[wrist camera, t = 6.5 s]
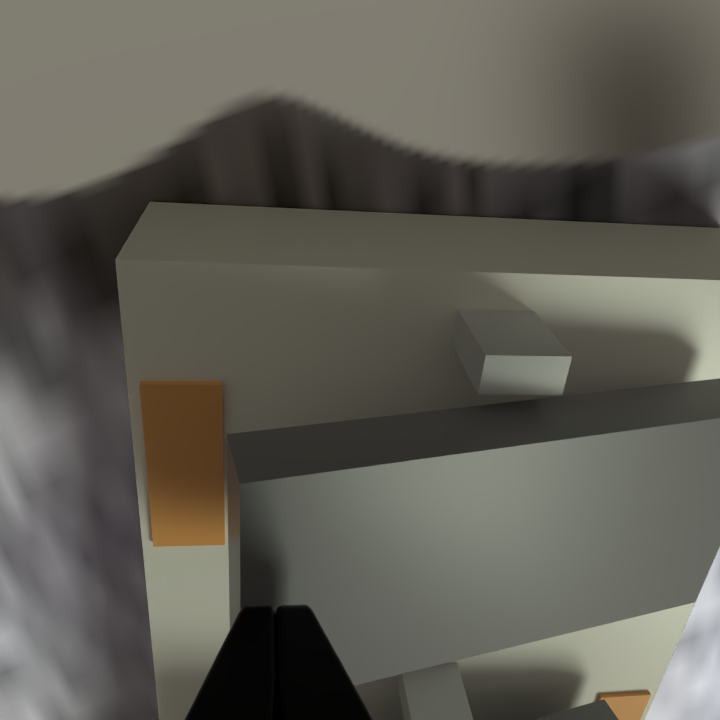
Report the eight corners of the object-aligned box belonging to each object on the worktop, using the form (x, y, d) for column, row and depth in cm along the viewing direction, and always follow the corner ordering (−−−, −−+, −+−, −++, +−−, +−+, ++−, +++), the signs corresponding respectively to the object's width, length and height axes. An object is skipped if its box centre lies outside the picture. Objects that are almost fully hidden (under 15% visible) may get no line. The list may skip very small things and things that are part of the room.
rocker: (230, 653, 10) (241, 713, 9) (225, 434, 8) (239, 484, 7) (656, 561, 13) (695, 602, 12) (727, 377, 11) (778, 409, 10)
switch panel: (195, 884, 22) (179, 1072, 18) (150, 202, 12) (89, 303, 8) (510, 854, 24) (557, 1022, 20) (722, 228, 13) (913, 323, 9)
